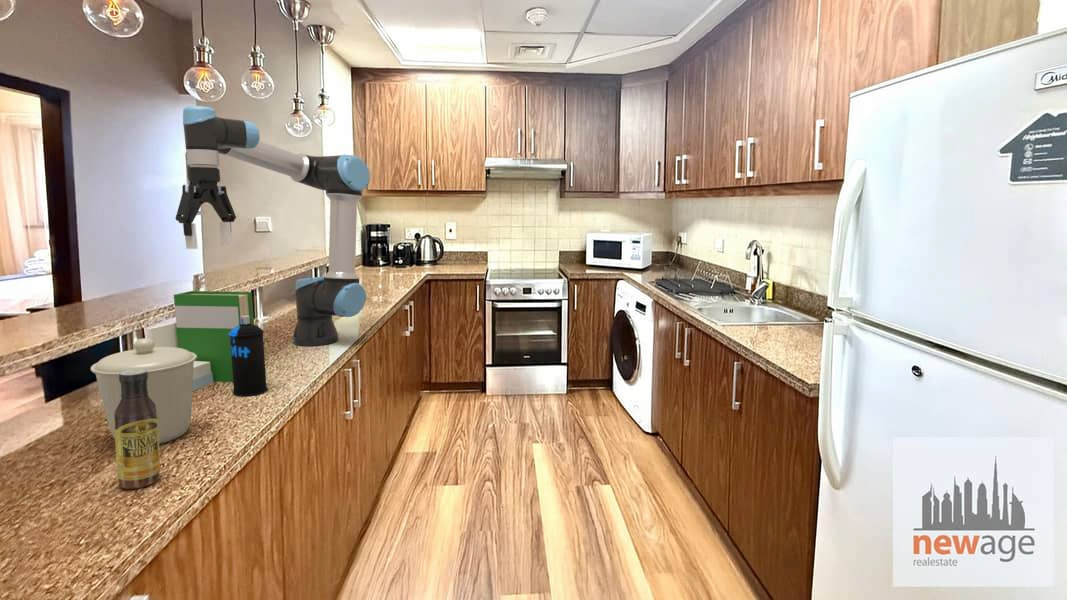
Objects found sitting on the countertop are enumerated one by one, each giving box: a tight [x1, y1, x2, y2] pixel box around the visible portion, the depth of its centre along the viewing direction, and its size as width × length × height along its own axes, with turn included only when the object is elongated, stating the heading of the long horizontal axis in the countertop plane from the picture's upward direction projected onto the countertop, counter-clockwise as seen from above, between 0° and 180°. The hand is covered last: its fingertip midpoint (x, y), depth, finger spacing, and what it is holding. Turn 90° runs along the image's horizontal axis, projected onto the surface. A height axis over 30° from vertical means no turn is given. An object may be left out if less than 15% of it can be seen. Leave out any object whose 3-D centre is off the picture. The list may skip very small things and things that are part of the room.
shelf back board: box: [146, 321, 178, 348], centre depth 164 cm, size 19×1×16 cm, turn 170°
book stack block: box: [193, 361, 214, 392], centre depth 158 cm, size 8×11×6 cm
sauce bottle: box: [114, 369, 161, 490], centre depth 102 cm, size 7×6×20 cm
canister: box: [90, 337, 197, 445], centre depth 121 cm, size 18×18×21 cm
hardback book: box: [173, 290, 255, 383], centre depth 164 cm, size 18×7×24 cm, turn 86°
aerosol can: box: [228, 316, 269, 398], centre depth 152 cm, size 8×8×20 cm
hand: (210, 247), depth 161 cm, fingers open, 13 cm apart
